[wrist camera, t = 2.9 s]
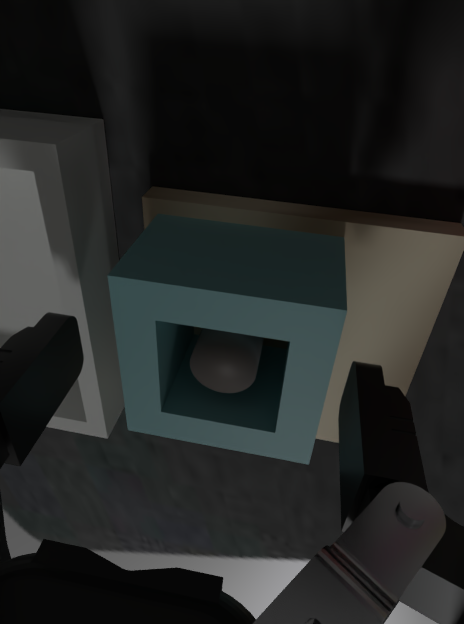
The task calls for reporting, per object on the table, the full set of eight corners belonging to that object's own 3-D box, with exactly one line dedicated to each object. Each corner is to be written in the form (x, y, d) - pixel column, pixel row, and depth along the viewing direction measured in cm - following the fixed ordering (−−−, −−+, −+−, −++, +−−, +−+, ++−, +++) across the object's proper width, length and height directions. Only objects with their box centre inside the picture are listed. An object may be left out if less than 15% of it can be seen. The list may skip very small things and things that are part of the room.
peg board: (460, 223, 14) (505, 303, 10) (381, 432, 20) (391, 530, 16) (152, 186, 15) (94, 246, 11) (164, 393, 21) (128, 476, 17)
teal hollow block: (344, 237, 14) (347, 310, 11) (306, 412, 18) (300, 500, 15) (157, 213, 14) (107, 275, 11) (166, 387, 19) (132, 466, 16)
